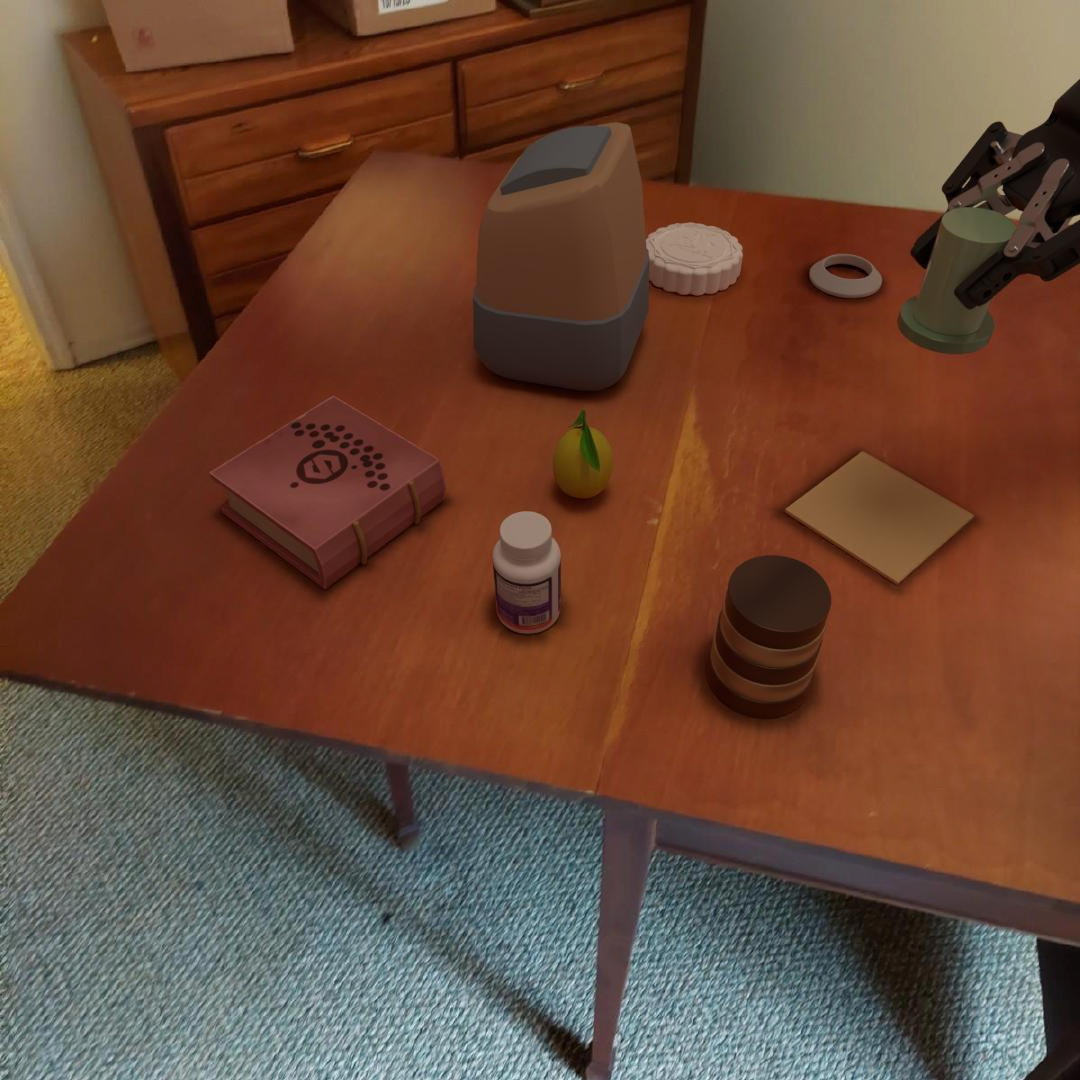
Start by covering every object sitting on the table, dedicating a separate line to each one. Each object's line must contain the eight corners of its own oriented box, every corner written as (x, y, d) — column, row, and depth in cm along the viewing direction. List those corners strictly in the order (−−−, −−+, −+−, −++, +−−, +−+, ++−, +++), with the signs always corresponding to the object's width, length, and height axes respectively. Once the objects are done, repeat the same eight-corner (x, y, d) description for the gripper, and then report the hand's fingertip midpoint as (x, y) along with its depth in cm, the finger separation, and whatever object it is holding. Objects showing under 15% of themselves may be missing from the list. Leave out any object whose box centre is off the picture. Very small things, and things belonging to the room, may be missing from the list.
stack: (830, 677, 75) (860, 594, 67) (765, 737, 71) (789, 656, 64) (750, 618, 79) (770, 534, 71) (685, 672, 75) (699, 589, 68)
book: (332, 594, 81) (321, 554, 77) (223, 512, 88) (208, 472, 84) (450, 504, 88) (446, 463, 85) (341, 435, 95) (333, 395, 92)
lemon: (597, 527, 86) (601, 443, 79) (539, 507, 88) (537, 423, 81) (626, 482, 90) (632, 398, 83) (570, 464, 92) (572, 380, 85)
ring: (871, 261, 117) (875, 248, 116) (888, 299, 112) (892, 285, 110) (803, 261, 117) (805, 248, 116) (816, 299, 112) (819, 285, 110)
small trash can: (512, 300, 112) (505, 98, 95) (652, 321, 109) (670, 115, 92) (465, 384, 101) (448, 171, 84) (620, 410, 98) (634, 194, 81)
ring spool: (1008, 329, 72) (1050, 225, 66) (958, 366, 69) (998, 260, 63) (929, 293, 76) (962, 191, 70) (879, 326, 73) (908, 223, 67)
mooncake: (756, 262, 117) (760, 235, 115) (712, 307, 111) (716, 280, 108) (669, 235, 122) (672, 209, 119) (622, 278, 115) (624, 250, 113)
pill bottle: (518, 577, 82) (514, 495, 75) (572, 601, 80) (574, 519, 73) (483, 619, 79) (476, 538, 72) (539, 645, 77) (537, 565, 70)
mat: (973, 518, 87) (974, 515, 86) (897, 585, 81) (898, 582, 81) (861, 453, 93) (862, 450, 92) (784, 512, 87) (784, 509, 87)
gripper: (1062, 13, 65) (863, 206, 71) (1223, 93, 55) (977, 308, 62) (1096, 84, 70) (907, 259, 76) (1250, 169, 60) (1018, 361, 67)
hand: (939, 280), depth 69 cm, fingers closed on ring spool, 5 cm apart
